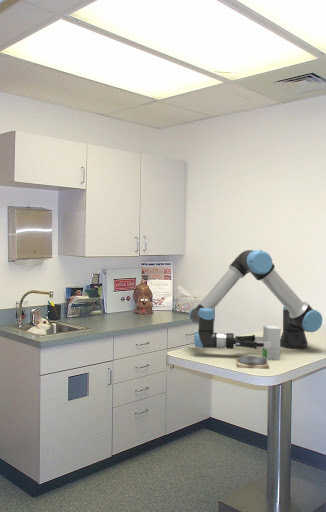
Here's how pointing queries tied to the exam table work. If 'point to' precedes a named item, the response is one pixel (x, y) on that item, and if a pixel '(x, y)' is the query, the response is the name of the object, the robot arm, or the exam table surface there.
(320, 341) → the exam table surface
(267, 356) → the skincare box
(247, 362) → the rosette stand
